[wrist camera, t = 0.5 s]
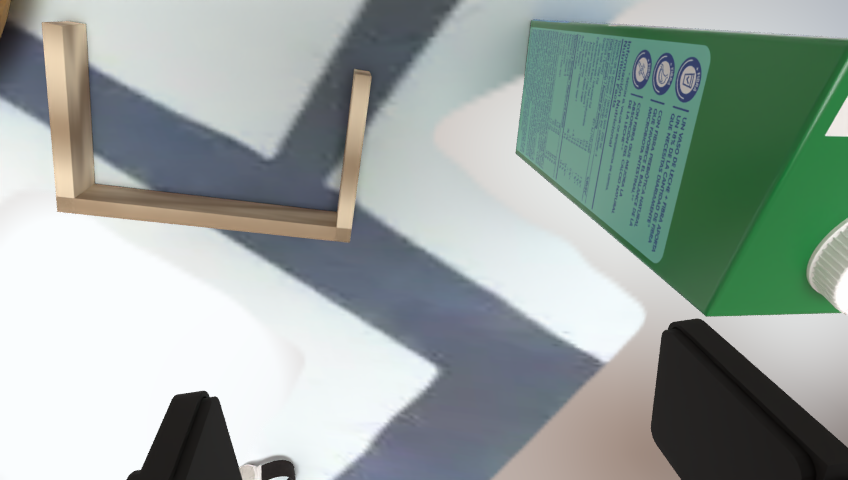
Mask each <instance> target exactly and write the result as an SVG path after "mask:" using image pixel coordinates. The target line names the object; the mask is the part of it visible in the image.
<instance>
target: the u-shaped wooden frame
mask: <svg viewBox="0 0 848 480" xmlns="http://www.w3.org/2000/svg"><path fill="white" fill-rule="evenodd" d="M42 32H43V44H44V56H45V68H46V80H47V92H48V104H49V116H50V128H51V140H52V152H53V164H54V176H55V188H56V200H57V210H58V212H66V213H75V214H84V215H94V216H103V217H113V218H122V219H132V220H141V221H150V222H160V223H169V224H179V225H188V226H198V227H207V228H216V229H226V230H235V231H245V232H254V233H264V234H273V235H283V236H292V237H301V238H311V239H320V240H330V241H339V242H349V243H350V236H351V229H352V221H353V214H354V206H355V199H356V191H357V183H358V176H359V168H360V161H361V153H362V146H363V138H364V131H365V123H366V116H367V108H368V100H369V93H370V85H371V78H372V77H371V74H370V71H364V70H358V69H354V76H353V84H352V92H351V101H350V109H349V117H348V126H347V134H346V142H345V151H344V159H343V167H342V175H341V184H340V192H339V200H338V209H337V212H333V211H324V210H316V209H307V208H298V207H290V206H281V205H273V204H264V203H255V202H247V201H238V200H230V199H221V198H212V197H204V196H195V195H186V194H178V193H169V192H161V191H152V190H143V189H135V188H126V187H118V186H109V185H100V184H95V179H94V161H93V143H92V125H91V106H90V88H89V70H88V52H87V34H86V24H81V23H75V22H69V21H61V22H42Z"/></svg>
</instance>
